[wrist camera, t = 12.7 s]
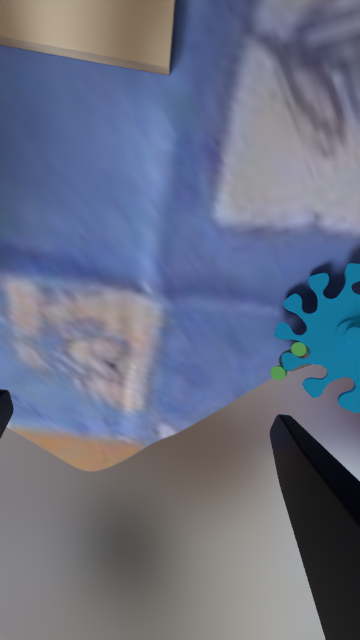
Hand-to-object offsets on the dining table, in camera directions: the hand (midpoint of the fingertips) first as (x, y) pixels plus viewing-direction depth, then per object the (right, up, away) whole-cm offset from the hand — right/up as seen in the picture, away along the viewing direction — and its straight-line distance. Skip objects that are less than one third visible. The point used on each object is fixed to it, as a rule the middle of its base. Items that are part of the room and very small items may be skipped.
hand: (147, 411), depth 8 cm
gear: (+13, +4, +12) cm, 18 cm away
